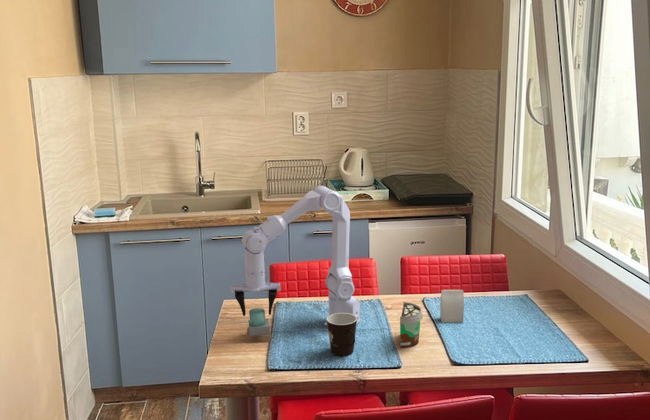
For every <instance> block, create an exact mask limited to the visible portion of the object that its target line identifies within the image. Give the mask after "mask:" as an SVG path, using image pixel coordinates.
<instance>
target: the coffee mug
mask: <svg viewBox="0 0 650 420" xmlns="http://www.w3.org/2000/svg"><path fill="white" fill-rule="evenodd" d="M326 322H327V325H326V326H327V331H328V338H329V346H330V351H331V354H332V355H334V356H337V357H347V356H350V355H352V354H354V351H355V350H354V349H355V343H356V331H357V325H358V324H357V317H356V316H355V315H353V314H349V313H335V314H332V315H329V314H328V316H327V317H326ZM356 324H357V325H356Z"/></svg>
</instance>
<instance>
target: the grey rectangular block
mask: <svg viewBox="0 0 650 420" xmlns="http://www.w3.org/2000/svg"><path fill="white" fill-rule="evenodd" d="M440 291H441V293H440V294H441V295H440V308H439V309H440V315H439V316H440V317H439V318H440V321H442V322H441V323H464V318H465V317H464V315H465V314H464V312H465V307H464V306H465V300H464V298H465V297H464V296H465V295H464V289H441V290H440Z"/></svg>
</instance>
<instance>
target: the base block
mask: <svg viewBox="0 0 650 420" xmlns="http://www.w3.org/2000/svg"><path fill="white" fill-rule="evenodd" d="M271 329H272V328H271V326H270V334H268V335H257V336H250V333H249V326H247V328H246V338H245V339H246V343H247V344H250V343H251V344H252V343H256V344H257V343H270V342H271V337H272V336H271V335H272V334H271V333H272V332H271Z"/></svg>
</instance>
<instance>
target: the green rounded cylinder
mask: <svg viewBox="0 0 650 420" xmlns="http://www.w3.org/2000/svg"><path fill="white" fill-rule="evenodd" d="M265 312H266V311H265V309H264V308H261V307H255V308H251V309H250V310H249V312H248V313H249V314H248V315H249V320H250V325H251V326H254V327H259V326H263V325H265V319H266V313H265Z"/></svg>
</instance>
